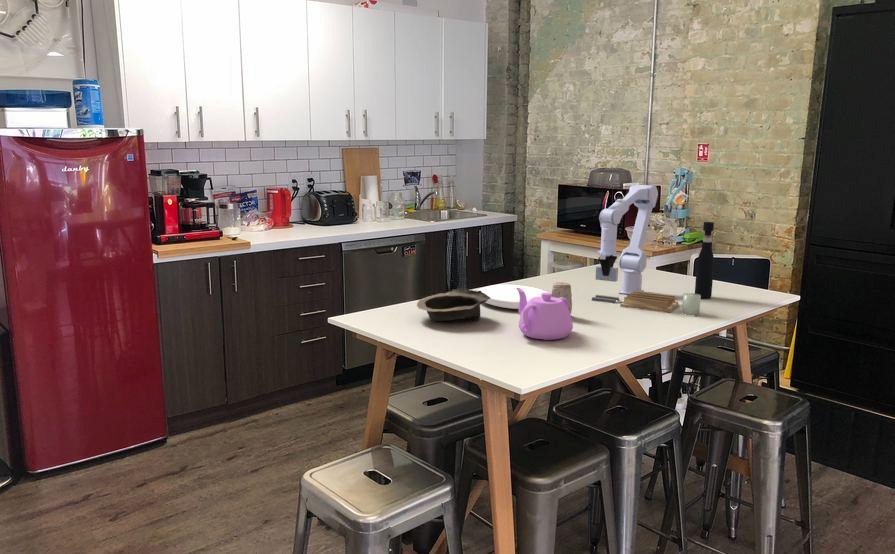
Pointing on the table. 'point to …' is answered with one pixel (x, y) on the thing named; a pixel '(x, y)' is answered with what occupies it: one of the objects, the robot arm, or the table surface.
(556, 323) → the teapot
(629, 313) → the table surface
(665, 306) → the dish rack
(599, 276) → the light blue slab
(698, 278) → the black thermos bottle
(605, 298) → the drying stand
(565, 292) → the carving
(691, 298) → the pale green cylinder
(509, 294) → the plate
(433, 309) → the stone bowl
